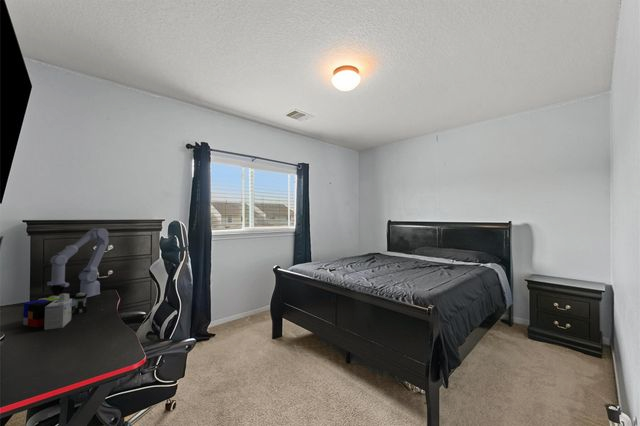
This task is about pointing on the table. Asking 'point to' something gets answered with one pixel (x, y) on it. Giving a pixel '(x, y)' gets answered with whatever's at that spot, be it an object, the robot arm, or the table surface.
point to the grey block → (64, 296)
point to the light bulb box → (57, 314)
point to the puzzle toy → (36, 312)
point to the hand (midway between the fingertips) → (57, 298)
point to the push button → (80, 303)
